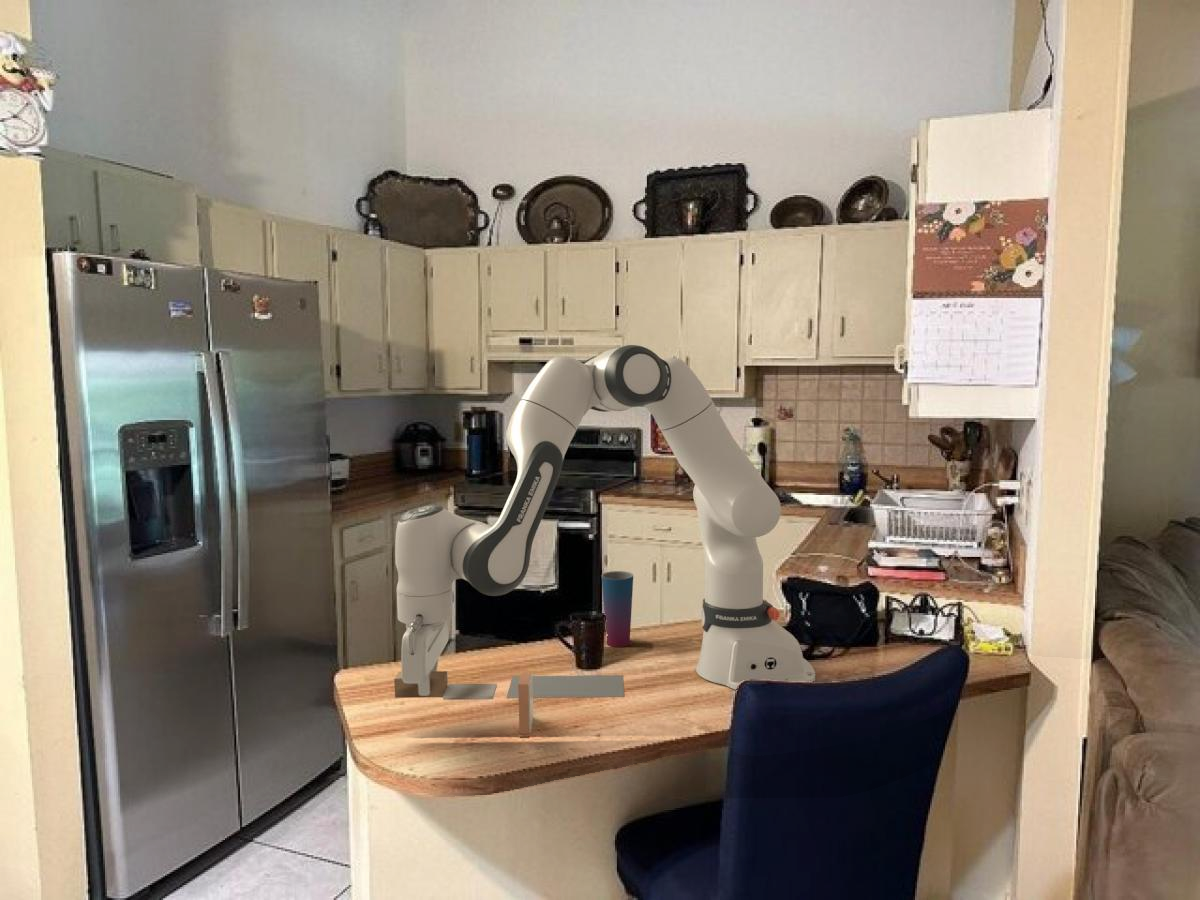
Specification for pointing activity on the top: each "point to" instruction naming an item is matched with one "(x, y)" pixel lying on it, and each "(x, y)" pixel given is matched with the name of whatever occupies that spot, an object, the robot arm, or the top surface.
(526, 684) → the tile
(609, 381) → the robot arm
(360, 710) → the top surface
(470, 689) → the turner
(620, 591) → the cup
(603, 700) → the top surface
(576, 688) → the rest mat
